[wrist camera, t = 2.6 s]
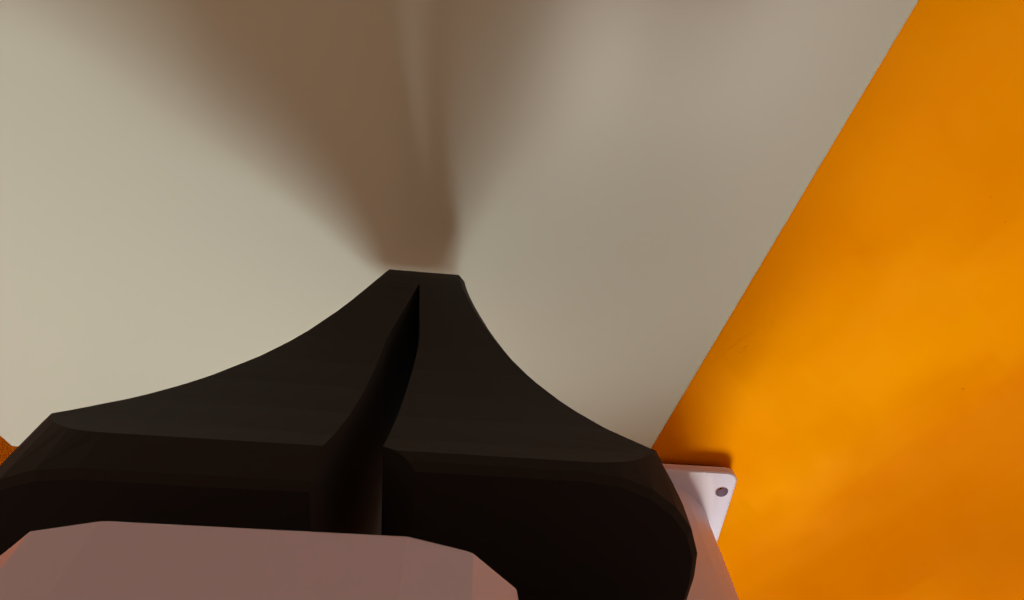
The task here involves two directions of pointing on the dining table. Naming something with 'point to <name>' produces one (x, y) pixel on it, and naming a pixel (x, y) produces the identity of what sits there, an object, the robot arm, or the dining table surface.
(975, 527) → the dining table surface
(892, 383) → the dining table surface
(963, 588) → the dining table surface
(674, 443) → the dining table surface
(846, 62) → the box lid
